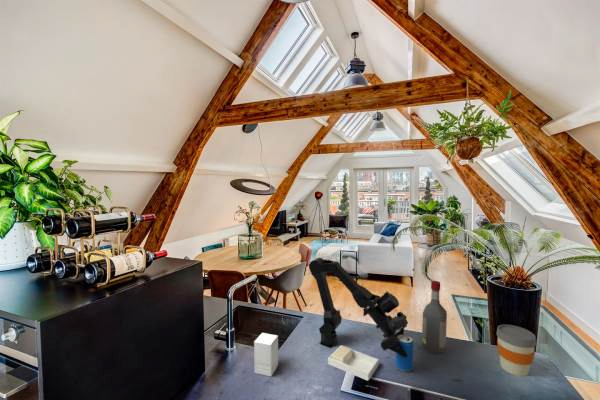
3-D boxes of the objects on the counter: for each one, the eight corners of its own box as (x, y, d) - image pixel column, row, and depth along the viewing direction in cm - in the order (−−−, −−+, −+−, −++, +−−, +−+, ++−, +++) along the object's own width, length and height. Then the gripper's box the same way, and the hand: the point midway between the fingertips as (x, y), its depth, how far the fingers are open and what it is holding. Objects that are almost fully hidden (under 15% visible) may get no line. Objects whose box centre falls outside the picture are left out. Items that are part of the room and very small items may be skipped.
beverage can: (414, 373, 110) (415, 343, 109) (396, 371, 111) (397, 341, 110) (411, 363, 116) (411, 335, 115) (394, 361, 117) (395, 333, 117)
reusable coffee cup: (541, 382, 105) (543, 343, 104) (501, 375, 109) (503, 337, 108) (526, 362, 117) (527, 327, 116) (490, 356, 121) (492, 322, 120)
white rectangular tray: (328, 365, 115) (328, 357, 115) (340, 352, 124) (340, 345, 124) (368, 382, 105) (368, 374, 105) (378, 366, 114) (378, 359, 114)
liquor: (446, 345, 129) (448, 281, 127) (444, 356, 121) (446, 287, 119) (424, 339, 134) (426, 277, 132) (421, 349, 126) (422, 283, 124)
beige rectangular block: (332, 363, 115) (332, 354, 115) (341, 353, 122) (341, 345, 122) (343, 367, 112) (343, 359, 112) (352, 357, 119) (352, 349, 119)
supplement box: (278, 365, 114) (278, 335, 114) (271, 377, 107) (270, 345, 107) (262, 361, 117) (262, 332, 116) (253, 373, 110) (253, 341, 109)
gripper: (389, 317, 106) (420, 355, 101) (399, 300, 122) (427, 331, 117) (368, 332, 111) (397, 369, 106) (381, 313, 127) (406, 344, 122)
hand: (408, 352), depth 112 cm, fingers closed on beverage can, 6 cm apart
